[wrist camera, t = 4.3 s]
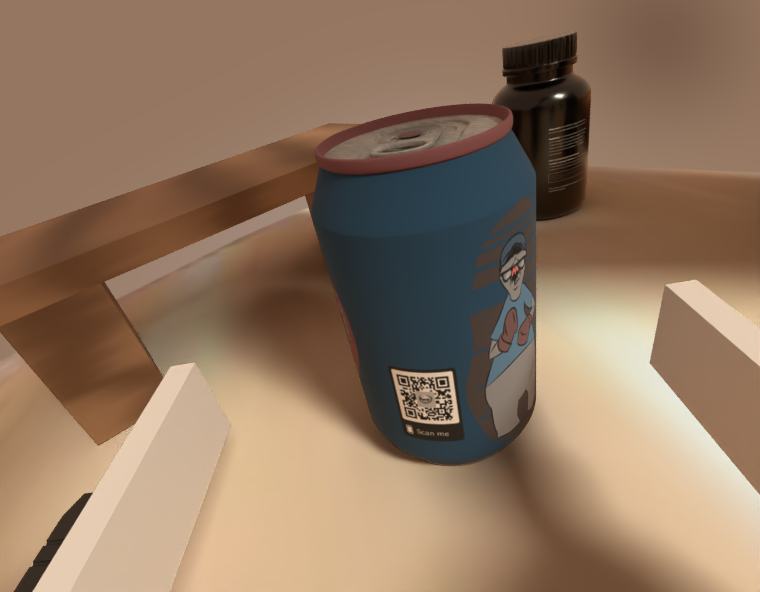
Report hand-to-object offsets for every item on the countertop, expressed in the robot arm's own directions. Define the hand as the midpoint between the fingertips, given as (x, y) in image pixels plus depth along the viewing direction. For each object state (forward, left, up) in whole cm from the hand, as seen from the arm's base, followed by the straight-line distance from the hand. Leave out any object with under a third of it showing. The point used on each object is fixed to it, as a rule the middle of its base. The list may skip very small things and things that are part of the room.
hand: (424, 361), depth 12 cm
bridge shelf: (-2, -19, -6) cm, 20 cm away
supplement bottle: (-24, -11, -7) cm, 27 cm away
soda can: (-3, -2, -7) cm, 7 cm away
